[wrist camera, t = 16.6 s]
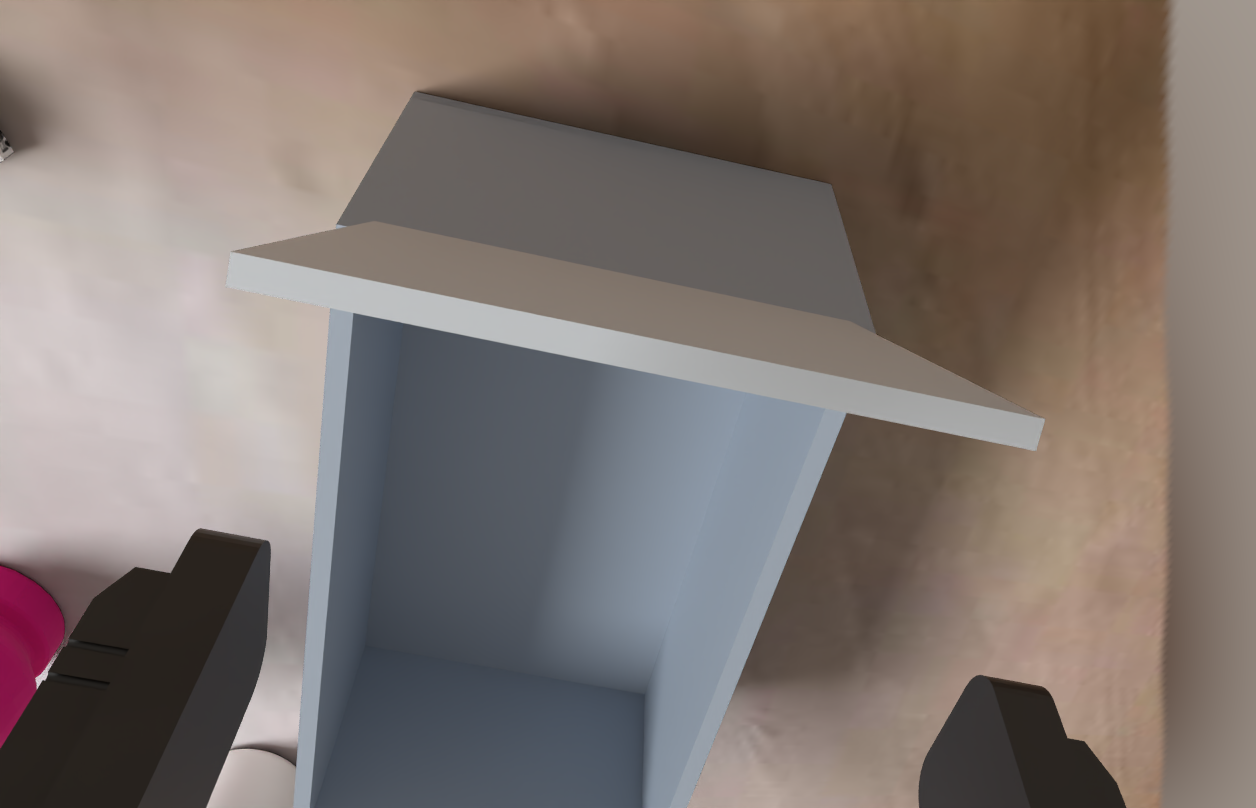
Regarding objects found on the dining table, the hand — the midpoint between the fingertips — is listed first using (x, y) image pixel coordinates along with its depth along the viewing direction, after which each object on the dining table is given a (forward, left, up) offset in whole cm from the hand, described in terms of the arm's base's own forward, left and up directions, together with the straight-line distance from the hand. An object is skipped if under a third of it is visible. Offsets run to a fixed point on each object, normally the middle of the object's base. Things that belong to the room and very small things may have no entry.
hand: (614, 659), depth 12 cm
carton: (0, +17, -26) cm, 31 cm away
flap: (0, +4, -16) cm, 17 cm away
